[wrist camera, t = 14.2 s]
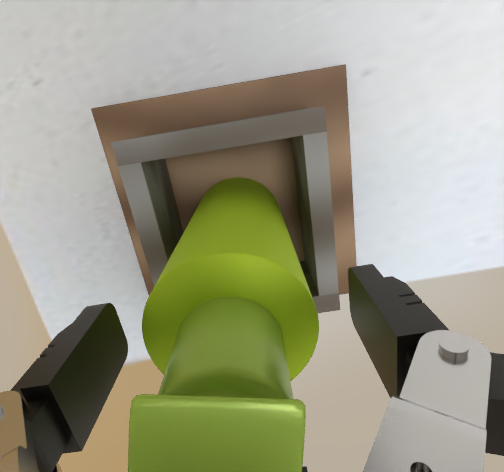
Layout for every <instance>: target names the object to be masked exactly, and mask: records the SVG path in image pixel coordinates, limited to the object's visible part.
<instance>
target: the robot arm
mask: <svg viewBox="0 0 504 472" xmlns="http://www.w3.org/2000/svg"><path fill="white" fill-rule="evenodd" d="M348 283H349V300H350V312H351V317H352V320H353V324H354V326H355V328H356V330H357V332H358V334H359V336H360V338H361V340H362V342H363V344H364V346H365V348H366V350H367V352H368V354H369V356H370V358H371V360H372V362H373V364H374V366H375V368H376V370H377V372H378V374H379V376H380V378H381V380H382V382H383V384H384V386H385V388H386V390H387V392H388V394H389V396H390V398H391V400H390V402H389V404H388V406H387V409H386V412H385V414H384V417H383V420H382V423H381V425H380V428H379V431H378V433H377V436H376V438H375V441H374V444H373V446H372V449H371V452H370V454H369V457H368V460H367V462H366V465H365V468H364V471H363V472H484V460H485V453H491V454H497V455H502V456H504V354H496V353H491V352H489V350H488V349H487V348H486V347H485V346H484V345H483V344H482V343H480V342H479V341H478V340H476V339H475V338H473V337H471V336H469V335H466V334H464V333H460V332H456V331H450V330H448V328H447V327H446V326H445V325H444V324H443V323H442V322H441V321H440V320H439V319H438V318H437V316H436V315H435V314H434V313H433V312H432V311H431V310H430V309H429V308H428V307H427V306H426V305H425V304H424V303H422V300H421V299H420V298H419V297H418V296H417V295H415V293H414V292H413V291H412V289H411V288H410V287H409V286H408V285H407V284H406V283H404V282H402V281H400V280H398V279H396V278H394V277H392V276H391V277H383V276H382V275H381V274H380V272H379V271H378V270H377V269H376V268H375V266H374V265H373V264H369V265H362V266H356V267H350V268H349V269H348ZM127 353H128V344H127V339H126V337H125V334H124V331H123V328H122V326H121V323H120V320H119V317H118V315H117V312H116V309H115V307H114V306H113V305H112V304H111V303H106V304H100V305H93V306H87V307H86V308H85V309H84V310H83V311H82V312H81V314H80V315H79V316H78V317H77V318H76V320H75V321H74V322H73V323H72V324H71V325H69V326H68V327H67V328H65V329H64V330H63V331H61V332H60V333H59V334H57V336H56V337H55V338H54V339H53V340H52V342H51V343H50V344H49V345H48V348H46V349H45V350H44V351H43V352H42V354H41V355H40V358H37V359H36V361H35V362H34V363H33V364H32V365H31V367H30V368H29V369H28V370H27V371H26V373H25V374H24V375H23V376H22V377H21V379H20V380H19V381H18V382H17V383H16V385H15V386H14V387H13V388H12V389H11V390H10V391H6V392H1V393H0V472H62V470H61V467H60V466H59V464H58V461H59V459H60V457H61V455H62V454H63V453H71V452H78V451H82V449H83V447H84V445H85V443H86V441H87V439H88V437H89V435H90V433H91V430H92V428H93V427H94V424H95V422H96V420H97V418H98V416H99V414H100V412H101V410H102V408H103V406H104V404H105V401H106V400H107V397H108V395H109V393H110V391H111V389H112V387H113V385H114V383H115V381H116V379H117V377H118V374H119V373H120V370H121V368H122V366H123V364H124V362H125V360H126V357H127ZM302 472H307V467H302Z"/></svg>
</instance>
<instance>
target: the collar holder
mask: <svg viewBox="0 0 504 472" xmlns="http://www.w3.org/2000/svg"><path fill="white" fill-rule="evenodd" d="M91 110H92V113H93V116H94V120H95V123H96V126H97V129H98V132H99V136H100V139H101V142H102V145H103V149H104V152H105V155H106V158H107V161H108V165H109V168H110V171H111V174H112V178H113V181H114V184H115V187H116V191H117V194H118V197H119V200H120V203H121V207H122V210H123V213H124V216H125V220H126V223H127V226H128V229H129V233H130V236H131V239H132V242H133V245H134V249H135V252H136V255H137V258H138V262H139V265H140V268H141V271H142V275H143V278H144V281H145V284H146V287H147V291H148V294H149V296H150V294H151V292H152V290H153V288H154V286H155V284H156V283H157V281H158V279H159V277H160V275H161V273H162V272H163V270H164V268H165V266H166V264H167V262H168V260H169V259H170V257H171V255H172V253H173V251H174V249H175V248H176V246H177V244H178V242H179V240H180V238H181V236H182V235H183V233H184V231H185V229H186V227H187V225H188V224H189V222H190V220H191V218H192V216H193V214H194V212H195V211H196V209H197V207H198V205H199V203H200V201H201V200H202V198H203V196H204V195H205V193H206V192H207V191H208V190H209V189H210V188H211V187H212V186H214V185H215V184H217V183H218V182H220V181H222V180H225V179H229V178H235V177H242V178H248V179H252V180H255V181H257V182H259V183H261V184H262V185H264V186H265V187H266V188H267V189H269V190H270V192H271V193H272V194H273V195H274V197H275V199H276V200H277V203H278V205H279V208H280V211H281V213H282V216H283V219H284V222H285V224H286V227H287V230H288V232H289V235H290V238H291V241H292V243H293V246H294V249H295V252H296V254H297V257H298V260H299V262H300V265H301V268H302V271H303V273H304V276H305V279H306V282H307V284H308V287H309V290H310V293H311V295H312V298H313V301H314V303H315V306H316V310H317V313H322V312H329V311H335V310H340V302H339V295H340V294H346V293H349V283H348V269H349V268H350V267H356V250H355V231H354V212H353V193H352V174H351V155H350V135H349V116H348V97H347V78H346V64H345V65H339V66H334V67H328V68H322V69H316V70H311V71H305V72H299V73H293V74H288V75H282V76H276V77H270V78H265V79H259V80H253V81H247V82H242V83H236V84H230V85H224V86H219V87H213V88H207V89H201V90H196V91H190V92H184V93H179V94H173V95H167V96H161V97H156V98H150V99H144V100H138V101H133V102H127V103H121V104H115V105H110V106H104V107H98V108H92V109H91Z"/></svg>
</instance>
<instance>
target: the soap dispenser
mask: <svg viewBox="0 0 504 472" xmlns="http://www.w3.org/2000/svg"><path fill="white" fill-rule="evenodd" d="M142 332H143V338H144V342H145V346H146V349H147V351H148V353H149V355H150V357H151V359H152V360H153V362H154V364H155V365H156V366H157V367H158V369H159V370H160V371H161V372H162V373H163V374H164V378H163V381H162V384H161V387H160V391H159V393H158V395H149V394H141V395H137V396H135V398H133V400H132V403H131V410H130V422H129V451H128V472H302V464H303V449H304V434H305V405H304V403H303V402H302V401H300V400H297V399H293V394H292V388H291V382H290V381H291V380H293V379H294V378H295V377H296V376H297V375H298V374H299V373H300V372H301V371H302V370H303V369H304V367H305V366H306V365H307V363H308V362H309V360H310V358H311V357H312V354H313V352H314V350H315V347H316V343H317V340H318V333H319V321H318V314H317V310H316V306H315V303H314V301H313V298H312V295H311V293H310V290H309V287H308V284H307V282H306V279H305V276H304V273H303V271H302V268H301V265H300V262H299V260H298V257H297V254H296V252H295V249H294V246H293V243H292V241H291V238H290V235H289V232H288V230H287V227H286V224H285V222H284V219H283V216H282V213H281V211H280V208H279V205H278V203H277V200H276V199H275V197H274V195H273V194H272V193H271V192H270V190H269V189H267V188H266V187H265V186H264V185H262V184H261V183H259V182H257V181H255V180H252V179H248V178H242V177H235V178H229V179H225V180H222V181H220V182H218V183H217V184H215V185H214V186H212V187H211V188H210V189H209V190H208V191H207V192H206V193H205V195H204V196H203V198H202V200H201V201H200V203H199V205H198V207H197V209H196V211H195V212H194V214H193V216H192V218H191V220H190V222H189V224H188V225H187V227H186V229H185V231H184V233H183V235H182V236H181V238H180V240H179V242H178V244H177V246H176V248H175V249H174V251H173V253H172V255H171V257H170V259H169V260H168V262H167V264H166V266H165V268H164V270H163V272H162V273H161V275H160V277H159V279H158V281H157V283H156V284H155V286H154V288H153V290H152V292H151V294H150V296H149V298H148V300H147V302H146V305H145V309H144V313H143V319H142Z"/></svg>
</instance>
